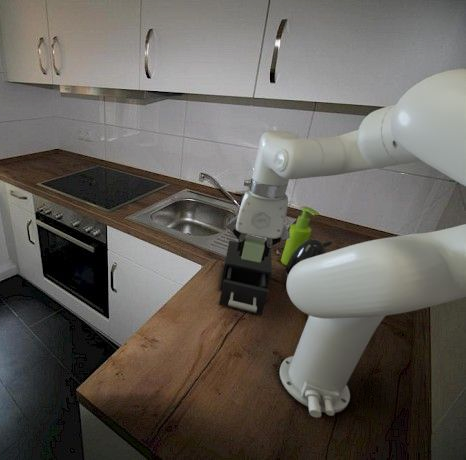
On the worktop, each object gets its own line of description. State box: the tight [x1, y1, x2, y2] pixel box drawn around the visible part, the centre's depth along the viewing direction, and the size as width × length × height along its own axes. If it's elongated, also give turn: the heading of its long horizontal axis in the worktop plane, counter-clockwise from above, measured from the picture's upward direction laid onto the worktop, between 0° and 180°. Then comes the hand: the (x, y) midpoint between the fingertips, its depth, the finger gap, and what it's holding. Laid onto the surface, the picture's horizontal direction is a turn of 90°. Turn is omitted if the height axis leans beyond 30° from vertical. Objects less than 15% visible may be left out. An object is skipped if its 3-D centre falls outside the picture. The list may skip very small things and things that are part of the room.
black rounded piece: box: [285, 238, 333, 278], centre depth 91 cm, size 10×10×15 cm
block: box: [241, 234, 266, 262], centre depth 79 cm, size 4×4×4 cm
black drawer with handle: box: [218, 266, 270, 317], centre depth 85 cm, size 17×11×8 cm, turn 158°
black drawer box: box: [219, 240, 273, 291], centre depth 93 cm, size 14×12×10 cm
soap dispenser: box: [280, 205, 320, 267], centre depth 100 cm, size 6×7×20 cm
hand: (251, 255), depth 80 cm, fingers closed on block, 4 cm apart
